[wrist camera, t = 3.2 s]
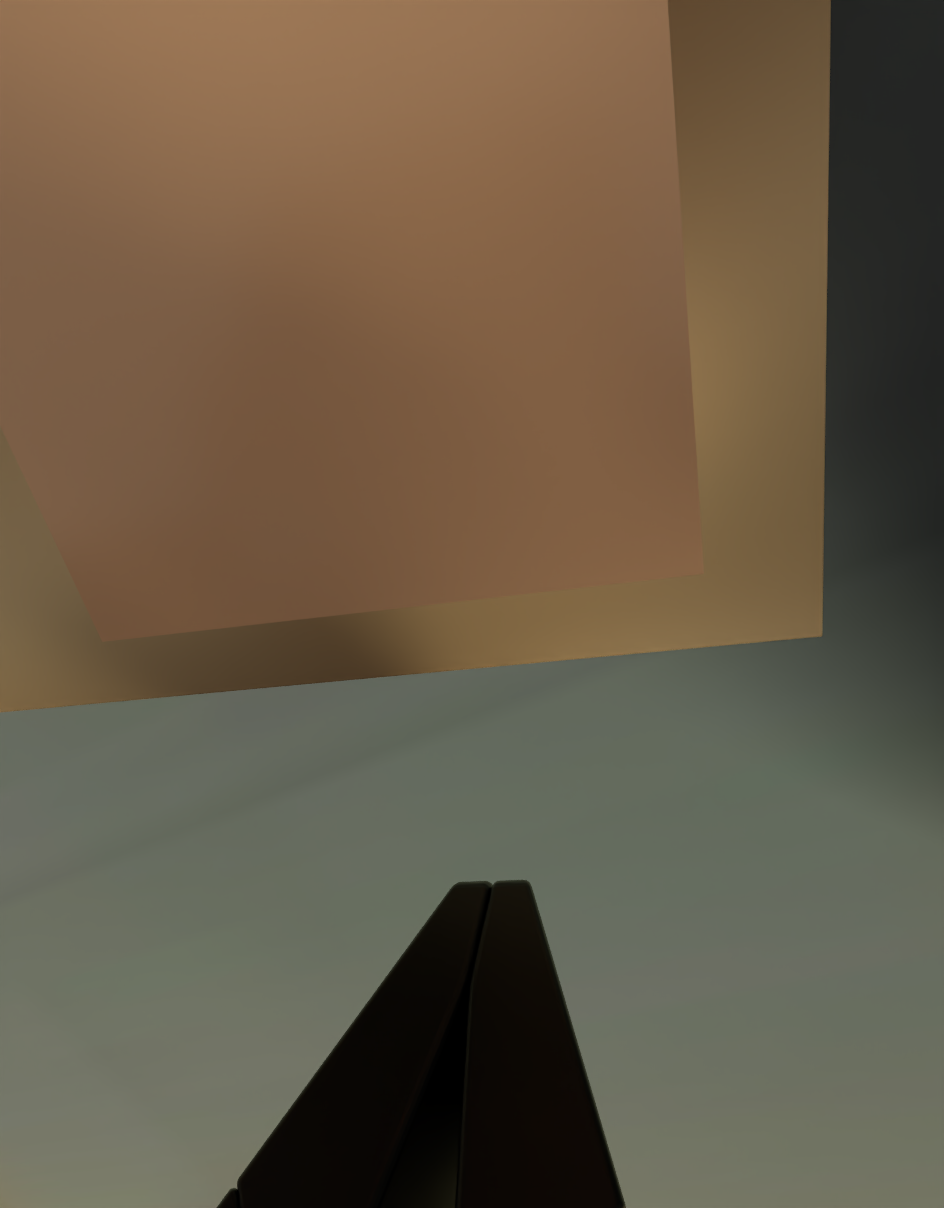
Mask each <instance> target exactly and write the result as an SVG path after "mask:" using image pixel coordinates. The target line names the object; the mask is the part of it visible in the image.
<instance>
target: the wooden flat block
mask: <svg viewBox="0 0 944 1208" xmlns="http://www.w3.org/2000/svg"><path fill="white" fill-rule="evenodd" d="M668 15H669V31H670V46H671V62H672V78H673V94H674V109H675V125H676V141H677V156H678V172H679V188H680V204H681V219H682V235H683V251H684V267H685V282H686V298H687V314H688V330H689V345H690V361H691V377H692V393H693V408H694V424H695V440H696V456H697V471H698V487H699V503H700V519H701V534H702V550H703V566H704V574H699V575H690V576H681V577H672V578H663V579H655V580H646V581H637V582H628V583H619V584H610V585H601V586H593V587H584V588H575V589H566V590H557V591H548V592H539V593H531V594H522V595H513V596H504V597H495V598H486V599H477V600H469V601H460V602H451V603H442V604H433V605H424V606H415V607H407V608H398V609H389V610H380V611H371V612H362V613H354V614H345V615H336V616H327V617H318V618H309V619H300V620H292V621H283V622H274V623H265V624H256V625H247V626H238V627H230V628H221V629H212V630H203V631H194V632H185V633H176V634H168V635H159V636H150V637H141V638H132V639H123V640H114V641H106V642H102V640H101V638H100V636H99V634H98V632H97V630H96V628H95V625H94V623H93V621H92V619H91V617H90V615H89V613H88V611H87V609H86V606H85V604H84V602H83V600H82V598H81V596H80V594H79V592H78V590H77V587H76V585H75V583H74V581H73V579H72V577H71V575H70V573H69V570H68V568H67V566H66V564H65V562H64V560H63V558H62V556H61V554H60V551H59V549H58V547H57V545H56V543H55V541H54V539H53V537H52V535H51V532H50V530H49V528H48V526H47V524H46V522H45V520H44V518H43V516H42V513H41V511H40V509H39V507H38V505H37V503H36V501H35V499H34V496H33V494H32V492H31V490H30V488H29V486H28V484H27V482H26V480H25V477H24V475H23V473H22V471H21V469H20V467H19V465H18V463H17V461H16V458H15V456H14V454H13V452H12V450H11V448H10V446H9V444H8V441H7V439H6V437H5V435H4V433H3V431H2V429H1V427H0V712H9V711H19V710H30V709H41V708H52V707H63V706H74V705H84V704H95V703H106V702H117V701H128V700H138V699H149V698H160V697H171V696H182V695H193V694H203V693H214V692H225V691H236V690H247V689H257V688H268V687H279V686H290V685H301V684H312V683H322V682H333V681H344V680H355V679H366V678H376V677H387V676H398V675H409V674H420V673H431V672H441V671H452V670H463V669H474V668H485V667H495V666H506V665H517V664H528V663H539V662H550V661H560V660H571V659H582V658H593V657H604V656H615V655H625V654H636V653H647V652H658V651H669V650H679V649H690V648H701V647H712V646H723V645H734V644H744V643H755V642H766V641H777V640H788V639H798V638H809V637H820V636H822V623H823V548H824V473H825V398H826V324H827V249H828V174H829V99H830V25H831V0H668Z"/></svg>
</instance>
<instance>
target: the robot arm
mask: <svg viewBox="0 0 944 1208" xmlns="http://www.w3.org/2000/svg"><path fill="white" fill-rule="evenodd" d="M237 1189H238V1190H237ZM237 1189H236V1188H232V1189H230V1190H229V1192H228V1193H227V1194H226V1196H225V1197H224V1199H223V1200H222V1201H221V1203H220V1204H219V1205H218V1207H217V1208H626V1206H625V1202H624V1198H623V1195H622V1192H621V1188H620V1185H619V1182H618V1178H617V1175H616V1171H615V1168H614V1165H613V1161H612V1158H611V1154H610V1151H609V1148H608V1144H607V1141H606V1137H605V1134H604V1131H603V1127H602V1124H601V1120H600V1117H599V1114H598V1110H597V1107H596V1103H595V1100H594V1097H593V1093H592V1090H591V1086H590V1083H589V1080H588V1076H587V1073H586V1069H585V1066H584V1063H583V1059H582V1056H581V1053H580V1049H579V1046H578V1042H577V1039H576V1036H575V1032H574V1029H573V1025H572V1022H571V1019H570V1015H569V1012H568V1008H567V1005H566V1002H565V998H564V995H563V991H562V988H561V985H560V981H559V978H558V974H557V971H556V968H555V964H554V961H553V957H552V954H551V951H550V947H549V944H548V940H547V937H546V934H545V930H544V927H543V924H542V920H541V917H540V913H539V910H538V907H537V903H536V900H535V896H534V893H533V890H532V886H531V884H530V883H529V882H528V881H527V880H506V881H497V882H495V883H494V884H493V885H492V884H491V883H490V882H487V881H474V882H459V883H457V884H455V885H454V886H453V887H452V888H451V889H450V890H449V892H448V893H447V894H446V896H445V897H444V899H443V900H442V901H441V903H440V904H439V905H438V907H437V908H436V910H435V911H434V912H433V914H432V915H431V916H430V918H429V919H428V920H427V922H426V923H425V925H424V926H423V927H422V929H421V930H420V931H419V933H418V934H417V935H416V937H415V938H414V940H413V941H412V942H411V944H410V945H409V946H408V948H407V949H406V950H405V952H404V953H403V955H402V956H401V957H400V959H399V960H398V961H397V963H396V964H395V966H394V967H393V968H392V970H391V971H390V972H389V974H388V975H387V976H386V978H385V979H384V981H383V982H382V983H381V985H380V986H379V987H378V989H377V990H376V991H375V993H374V994H373V996H372V997H371V998H370V1000H369V1001H368V1002H367V1004H366V1005H365V1006H364V1008H363V1009H362V1011H361V1012H360V1013H359V1015H358V1016H357V1017H356V1019H355V1020H354V1022H353V1023H352V1024H351V1026H350V1027H349V1028H348V1030H347V1031H346V1032H345V1034H344V1035H343V1037H342V1038H341V1039H340V1041H339V1042H338V1043H337V1045H336V1046H335V1047H334V1049H333V1050H332V1052H331V1053H330V1054H329V1056H328V1057H327V1058H326V1060H325V1061H324V1062H323V1064H322V1065H321V1067H320V1068H319V1069H318V1071H317V1072H316V1073H315V1075H314V1076H313V1078H312V1079H311V1080H310V1082H309V1083H308V1084H307V1086H306V1087H305V1088H304V1090H303V1091H302V1093H301V1094H300V1095H299V1097H298V1098H297V1099H296V1101H295V1102H294V1103H293V1105H292V1106H291V1108H290V1109H289V1110H288V1112H287V1113H286V1114H285V1116H284V1117H283V1118H282V1120H281V1121H280V1123H279V1124H278V1125H277V1127H276V1128H275V1129H274V1131H273V1132H272V1134H271V1135H270V1136H269V1138H268V1139H267V1140H266V1142H265V1143H264V1144H263V1146H262V1147H261V1149H260V1150H259V1151H258V1153H257V1154H256V1155H255V1157H254V1158H253V1159H252V1161H251V1162H250V1164H249V1165H248V1166H247V1168H246V1169H245V1170H244V1172H243V1173H242V1174H241V1176H240V1177H239V1179H238V1181H237Z"/></svg>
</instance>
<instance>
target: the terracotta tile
mask: <svg viewBox="0 0 944 1208" xmlns="http://www.w3.org/2000/svg"><path fill="white" fill-rule="evenodd" d="M0 427H1V429H2V431H3V433H4V435H5V437H6V439H7V441H8V444H9V446H10V448H11V450H12V452H13V454H14V456H15V458H16V461H17V463H18V465H19V467H20V469H21V471H22V473H23V475H24V477H25V480H26V482H27V484H28V486H29V488H30V490H31V492H32V494H33V496H34V499H35V501H36V503H37V505H38V507H39V509H40V511H41V513H42V516H43V518H44V520H45V522H46V524H47V526H48V528H49V530H50V532H51V535H52V537H53V539H54V541H55V543H56V545H57V547H58V549H59V551H60V554H61V556H62V558H63V560H64V562H65V564H66V566H67V568H68V570H69V573H70V575H71V577H72V579H73V581H74V583H75V585H76V587H77V590H78V592H79V594H80V596H81V598H82V600H83V602H84V604H85V606H86V609H87V611H88V613H89V615H90V617H91V619H92V621H93V623H94V625H95V628H96V630H97V632H98V634H99V636H100V638H101V640H102V642H106V641H114V640H123V639H132V638H141V637H150V636H159V635H168V634H176V633H185V632H194V631H203V630H212V629H221V628H230V627H238V626H247V625H256V624H265V623H274V622H283V621H292V620H300V619H309V618H318V617H327V616H336V615H345V614H354V613H362V612H371V611H380V610H389V609H398V608H407V607H415V606H424V605H433V604H442V603H451V602H460V601H469V600H477V599H486V598H495V597H504V596H513V595H522V594H531V593H539V592H548V591H557V590H566V589H575V588H584V587H593V586H601V585H610V584H619V583H628V582H637V581H646V580H655V579H663V578H672V577H681V576H690V575H699V574H704V566H703V550H702V534H701V519H700V503H699V487H698V471H697V456H696V440H695V424H694V408H693V393H692V377H691V361H690V345H689V330H688V314H687V298H686V282H685V267H684V251H683V235H682V219H681V204H680V188H679V172H678V156H677V141H676V125H675V109H674V94H673V78H672V62H671V46H670V31H669V15H668V0H0Z"/></svg>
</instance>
